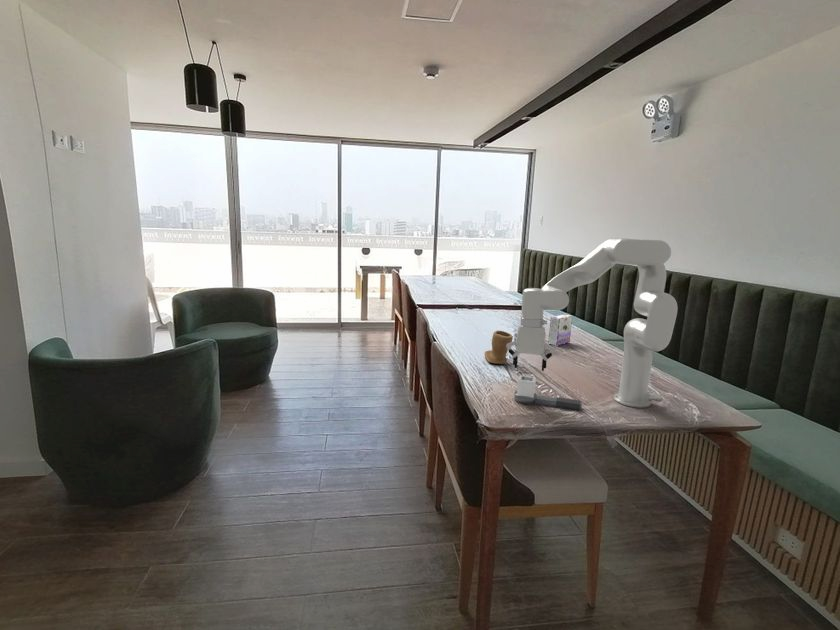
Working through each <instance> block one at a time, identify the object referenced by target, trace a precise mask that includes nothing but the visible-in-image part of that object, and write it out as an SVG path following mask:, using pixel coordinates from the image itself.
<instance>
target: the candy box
mask: <svg viewBox="0 0 840 630" xmlns="http://www.w3.org/2000/svg"><path fill="white" fill-rule="evenodd" d="M572 322H573V315H570V314H559V315H558V314H557V315H554V316H553V315H552V316H550V323H549V333H548V343H547V344H551V346H553V345H556V346H555V347H558V346H557V345H560V346H562V345H561V344H564V343H567V344H569V343H568V342H570V343H571V332H572ZM564 345H565V344H564Z"/></svg>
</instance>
